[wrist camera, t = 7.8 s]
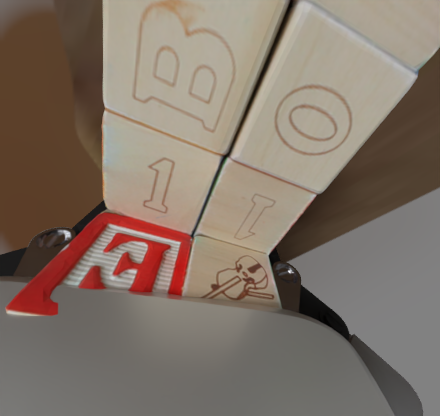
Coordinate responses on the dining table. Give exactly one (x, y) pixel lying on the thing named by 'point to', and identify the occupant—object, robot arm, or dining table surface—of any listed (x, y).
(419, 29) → the stack of blocks
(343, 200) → the dining table surface
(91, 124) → the dining table surface
